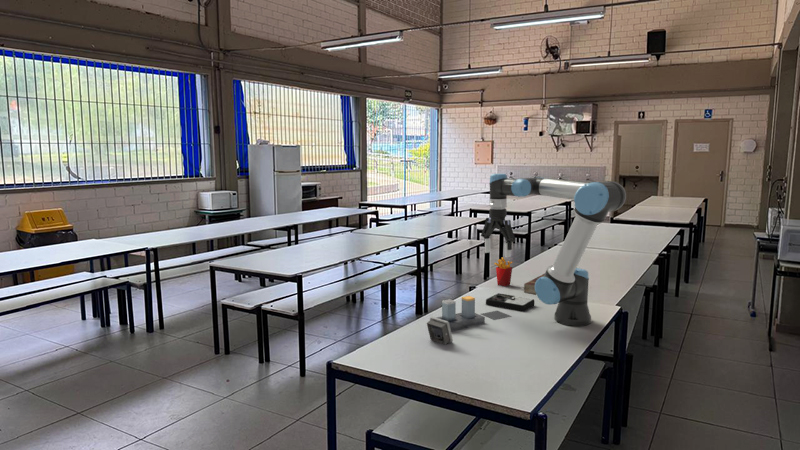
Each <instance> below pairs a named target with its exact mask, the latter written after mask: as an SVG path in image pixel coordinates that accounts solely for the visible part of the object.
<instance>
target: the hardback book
mask: <svg viewBox="0 0 800 450" xmlns="http://www.w3.org/2000/svg"><path fill="white" fill-rule="evenodd" d="M544 275H545V273H543V274H541V275H538V276H537V277H535V278H533V279H531V280H529V281H527V282H525V283H524V284H523V293H526V294H532V295H536V292H535V283H536V281H537V279H539V278H540V277H543V276H544Z"/></svg>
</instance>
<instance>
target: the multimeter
mask: <svg viewBox="0 0 800 450" xmlns="http://www.w3.org/2000/svg"><path fill="white" fill-rule="evenodd" d="M485 305H486V306H489V307H490V306H491V307H494V308H495V307H496V308H501V309H507V310H512V311H517V312H525V311H527V310H528V309H532V308H534V307H535V299H534V298H530V297H525V296H524V297H523V296H518V295H510V294H507V293H496V294H494V295H492V296H490V297H488V298H486V300H485Z"/></svg>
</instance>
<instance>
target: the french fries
mask: <svg viewBox="0 0 800 450" xmlns="http://www.w3.org/2000/svg"><path fill="white" fill-rule="evenodd" d="M496 261H497V262H498V263H497V262H494V265H495V266H497V267H495V270H496V271H495V272H496V282H497V286H498V287H499V286H501V287H509V286H511V283H512V282H511V279H512V273H513V267H512V266H511V264H513V263H514V262H513V261H509V260H508V261H507V262H506V259H505V258H504V257H501V258H499V259H498V260H496ZM506 263H507V264H506Z"/></svg>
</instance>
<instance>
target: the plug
mask: <svg viewBox="0 0 800 450" xmlns="http://www.w3.org/2000/svg"><path fill="white" fill-rule="evenodd" d="M461 313H462V317H464V318H472V317H475V313H476V297H474V296H470V295H466V296H461Z"/></svg>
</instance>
